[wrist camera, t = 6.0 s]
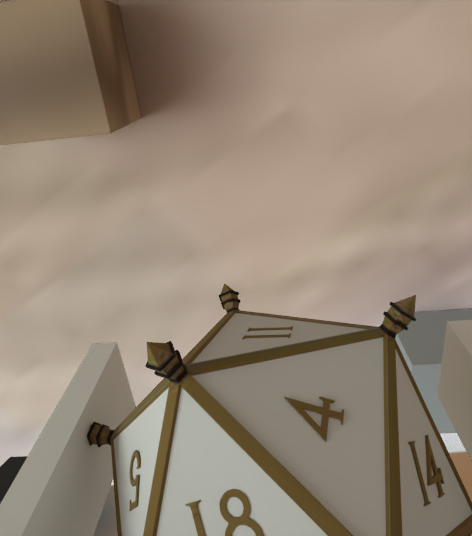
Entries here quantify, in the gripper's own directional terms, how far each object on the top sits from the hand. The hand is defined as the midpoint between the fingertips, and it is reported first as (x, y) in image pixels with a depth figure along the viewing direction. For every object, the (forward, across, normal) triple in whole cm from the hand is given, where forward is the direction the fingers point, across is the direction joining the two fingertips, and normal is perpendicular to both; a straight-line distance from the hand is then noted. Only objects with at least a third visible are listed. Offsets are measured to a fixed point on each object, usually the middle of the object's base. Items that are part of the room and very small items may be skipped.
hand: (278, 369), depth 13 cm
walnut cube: (+13, -9, +9) cm, 18 cm away
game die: (+1, 0, 0) cm, 1 cm away
